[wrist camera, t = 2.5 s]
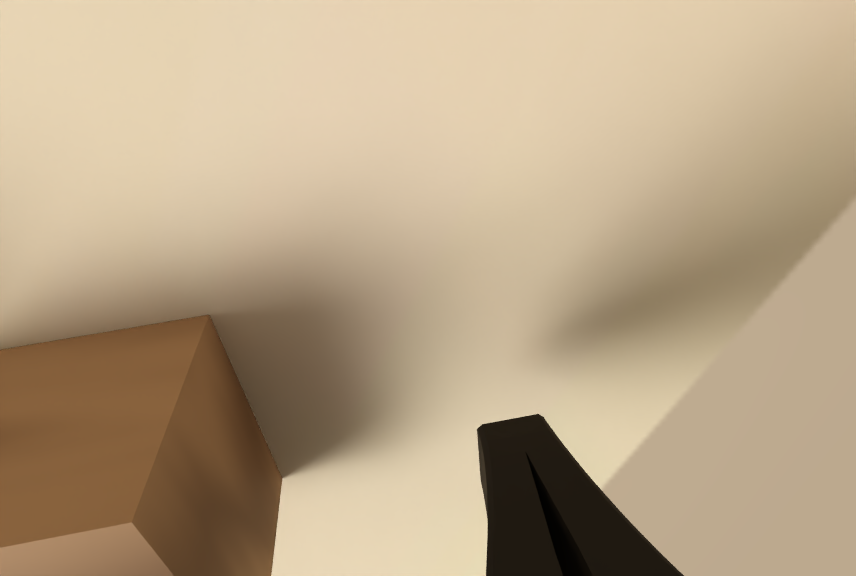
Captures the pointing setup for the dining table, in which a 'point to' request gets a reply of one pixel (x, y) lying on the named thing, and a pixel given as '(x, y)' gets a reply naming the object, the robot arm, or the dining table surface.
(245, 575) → the walnut block
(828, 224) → the dining table surface
